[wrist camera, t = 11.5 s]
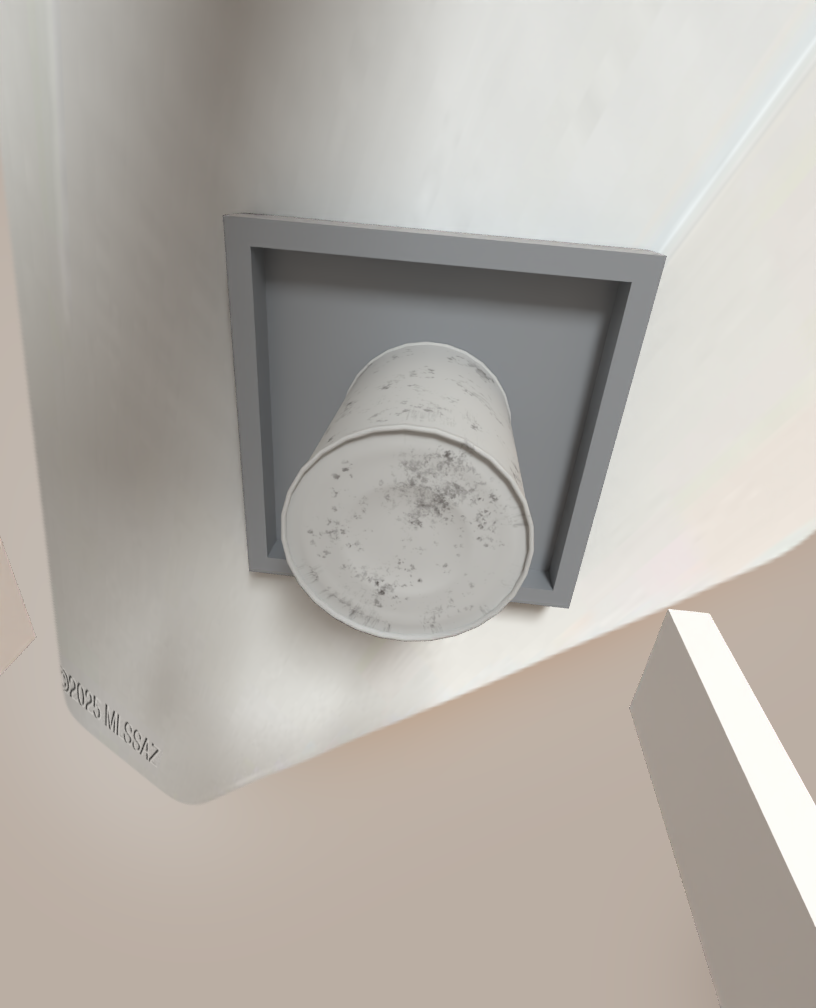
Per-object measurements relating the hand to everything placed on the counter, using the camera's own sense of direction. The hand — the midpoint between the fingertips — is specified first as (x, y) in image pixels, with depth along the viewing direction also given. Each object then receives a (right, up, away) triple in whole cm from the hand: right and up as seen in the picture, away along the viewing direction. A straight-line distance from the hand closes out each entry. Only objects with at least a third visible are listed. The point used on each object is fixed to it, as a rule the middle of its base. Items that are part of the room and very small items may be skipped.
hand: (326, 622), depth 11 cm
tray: (+3, +7, +21) cm, 23 cm away
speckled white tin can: (+3, +7, +21) cm, 22 cm away
